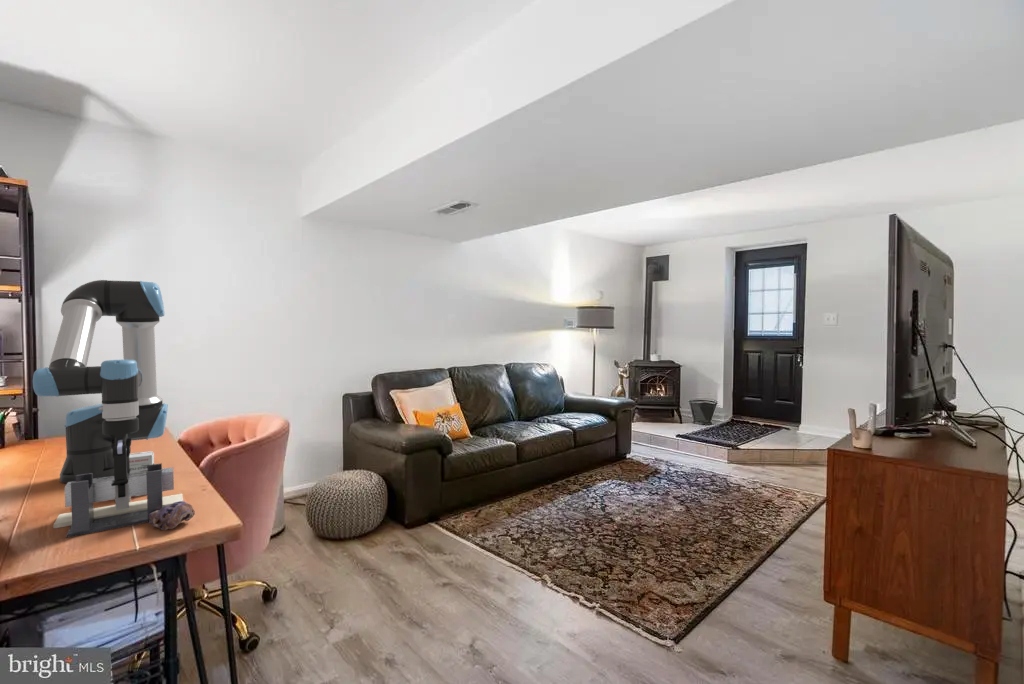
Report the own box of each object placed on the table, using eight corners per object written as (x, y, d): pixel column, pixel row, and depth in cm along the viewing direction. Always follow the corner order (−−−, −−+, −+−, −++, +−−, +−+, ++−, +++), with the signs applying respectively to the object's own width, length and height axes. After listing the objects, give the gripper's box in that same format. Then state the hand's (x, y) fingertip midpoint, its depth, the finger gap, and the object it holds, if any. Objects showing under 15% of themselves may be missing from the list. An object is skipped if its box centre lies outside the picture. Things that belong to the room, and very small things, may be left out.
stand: (72, 526, 118) (70, 475, 118) (167, 508, 129) (166, 462, 129) (66, 537, 111) (64, 484, 111) (167, 518, 122) (166, 469, 122)
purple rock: (139, 526, 118) (139, 501, 118) (173, 515, 125) (172, 492, 125) (167, 535, 113) (167, 509, 113) (201, 523, 120) (200, 499, 119)
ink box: (116, 499, 137) (115, 458, 136) (118, 494, 141) (117, 454, 140) (153, 493, 141) (152, 454, 141) (154, 489, 145) (153, 450, 145)
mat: (59, 518, 123) (59, 514, 123) (182, 496, 138) (182, 493, 138) (53, 528, 117) (53, 524, 117) (183, 505, 132) (183, 501, 132)
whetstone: (68, 501, 123) (68, 482, 123) (173, 484, 136) (173, 467, 136) (65, 507, 119) (64, 487, 119) (173, 489, 132) (173, 471, 132)
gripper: (105, 415, 132) (108, 498, 133) (98, 425, 117) (100, 519, 118) (140, 412, 136) (142, 493, 137) (136, 421, 122) (139, 512, 122)
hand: (123, 505), depth 128 cm, fingers closed on whetstone, 5 cm apart
